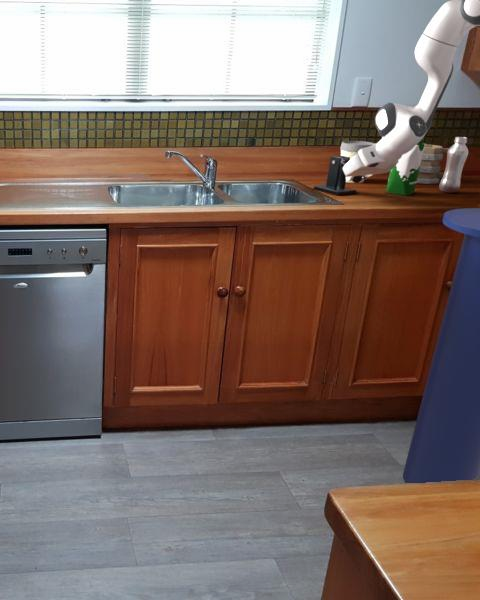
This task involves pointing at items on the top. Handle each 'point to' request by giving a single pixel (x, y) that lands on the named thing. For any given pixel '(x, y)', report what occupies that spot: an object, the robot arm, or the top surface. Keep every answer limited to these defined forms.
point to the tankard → (431, 164)
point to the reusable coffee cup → (353, 150)
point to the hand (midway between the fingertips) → (355, 178)
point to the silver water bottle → (454, 166)
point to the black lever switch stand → (336, 178)
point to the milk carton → (406, 171)
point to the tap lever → (356, 178)
